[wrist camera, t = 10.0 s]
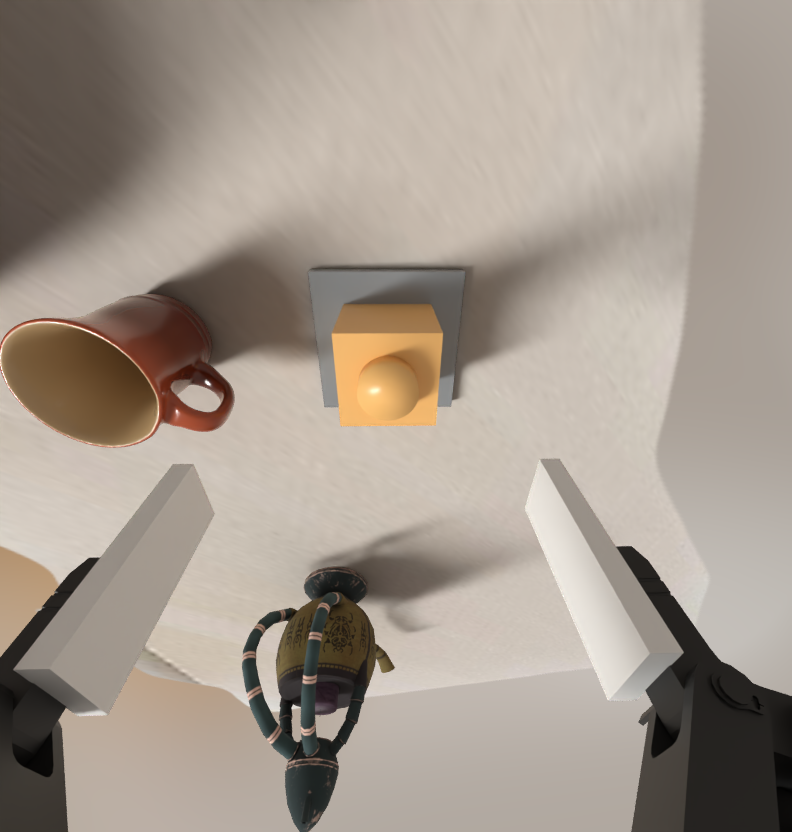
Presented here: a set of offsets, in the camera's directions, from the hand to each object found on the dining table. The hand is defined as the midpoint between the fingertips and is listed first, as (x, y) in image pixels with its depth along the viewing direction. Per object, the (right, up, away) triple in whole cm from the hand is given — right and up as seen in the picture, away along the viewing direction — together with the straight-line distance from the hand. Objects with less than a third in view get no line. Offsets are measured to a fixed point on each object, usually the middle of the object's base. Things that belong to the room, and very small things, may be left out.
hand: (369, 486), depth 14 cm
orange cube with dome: (0, +9, +16) cm, 18 cm away
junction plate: (0, +9, +17) cm, 19 cm away
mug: (-17, +9, +17) cm, 25 cm away
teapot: (-6, -24, +38) cm, 46 cm away
